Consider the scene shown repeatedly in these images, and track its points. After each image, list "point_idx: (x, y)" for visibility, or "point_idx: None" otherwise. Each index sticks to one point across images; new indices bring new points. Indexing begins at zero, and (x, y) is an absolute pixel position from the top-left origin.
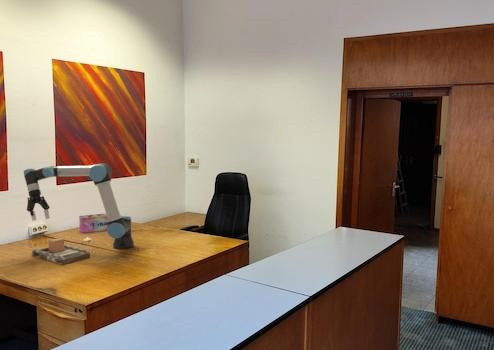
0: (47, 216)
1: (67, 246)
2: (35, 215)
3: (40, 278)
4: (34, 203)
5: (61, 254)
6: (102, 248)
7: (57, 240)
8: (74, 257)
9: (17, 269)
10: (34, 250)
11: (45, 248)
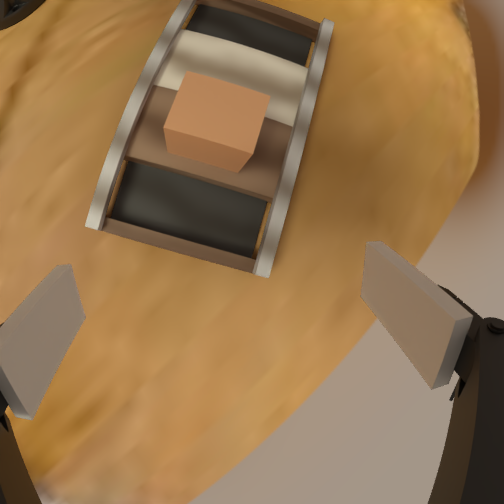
0: (63, 300)
1: (136, 115)
2: (398, 270)
3: (441, 54)
4: (502, 490)
5: (262, 73)
6: (45, 35)
7: (234, 89)
8: (275, 7)
9: (429, 175)
10: (274, 252)
11: (183, 246)
